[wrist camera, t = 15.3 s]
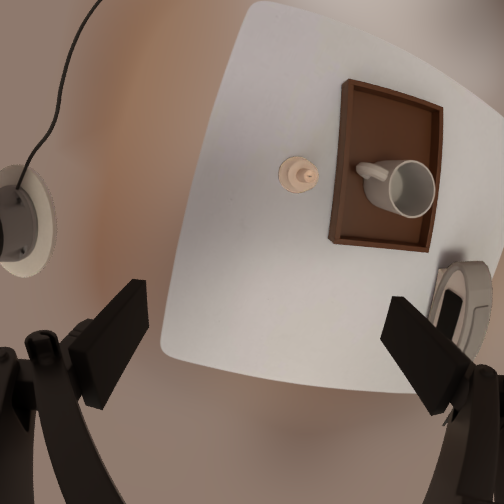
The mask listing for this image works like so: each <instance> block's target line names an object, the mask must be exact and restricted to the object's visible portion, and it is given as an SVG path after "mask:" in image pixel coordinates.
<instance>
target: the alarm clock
mask: <svg viewBox="0 0 504 504" xmlns="http://www.w3.org/2000/svg"><path fill="white" fill-rule="evenodd" d="M491 308H492V280H491V274H490V272H489V269H488V266H487V265H486V264H485V263H484V262H483V261H465V262H454V263H453V264H451V265H450V266H449V267H448V268H446V269H439V271H438V276H437V281H436V286H435V291H434V296H433V301H432V305H431V309H430V313H429V317H428V320H429V321H430V322H431V323H432V324H433V325H434V326H435V327H436V328H437V329H438V330H439V331H440V332H441V333H442V334H443V335H444V336H445V337H446V338H448V339H450V340H451V341H453V342H454V343H455V344H456V345H457V346H458V348H460V349H461V350H462V352H464V353H465V354H466V355H467V356H468V357H469V358H470V360H471V361H472V362H473V360H474V359H475V357H476V355H477V354H478V352H479V350H480V347H481V345H482V343H483V340H484V337H485V334H486V331H487V328H488V324H489V320H490V314H491Z"/></svg>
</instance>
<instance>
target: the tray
mask: <svg viewBox="0 0 504 504" xmlns="http://www.w3.org/2000/svg"><path fill="white" fill-rule="evenodd" d="M442 145H443V107H441V106H438V105H436V104H433V103H431V102H428V101H425V100H422V99H419V98H416V97H413V96H410V95H407V94H404V93H401V92H398V91H394V90H391V89H388V88H384V87H380V86H377V85H373V84H369V83H365V82H361V81H357V80H352V79H348V80H346V81H345V82H344V83H343V84H342V92H341V113H340V129H339V143H338V155H337V166H336V176H335V186H334V195H333V204H332V212H331V220H330V228H329V235H328V239H329V240H330V241H332V242H333V243H334V244H342V245H353V246H364V247H375V248H385V249H396V250H406V251H416V252H426V253H428V252H429V248H430V243H431V238H432V232H433V226H434V220H435V214H436V207H437V200H438V192H439V183H440V173H441V161H442ZM386 160H414V161H418V162H420V163H422V164H424V165H425V166H426V167H427V168H428V169H429V171H430V172H431V174H432V176H433V179H434V182H435V197H434V201H433V203H432V205H431V207H430V209H429V210H428V211H427V212H426V213H425V214H423V215H422V216H420V217H417V218H407V217H405V216H402V215H399V214H396V213H393V212H390V211H387V210H384V209H382V208H379V207H376V206H375V205H373V204H372V203H371V202H370V201H369V200H368V198H367V196H366V194H365V191H364V187H363V185H364V178H363V177H362V176H360V175H359V174H358V173H357V171H356V166H357V165H358V164H359V163H361V162H366V163H373V164H374V163H376V162H380V161H386Z"/></svg>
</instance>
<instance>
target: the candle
mask: <svg viewBox="0 0 504 504" xmlns="http://www.w3.org/2000/svg"><path fill="white" fill-rule="evenodd" d="M318 176H319V174H318V170H317V168H316V167H315V165H314V164H312V163H311V162H309V161H308V160H306V159H305V158H302V157H291V158H289V159H287V160H285V161H284V162H283V163H282V165H281V166H280V169H279V181H280V183H281V185H282V186H283V187H284V188H285V189H286V190H288V191H290V192H293V193H302V192H305V191H307V190H310V189H312V188H313V187H314V186H315V185H316V184H317V181H318Z"/></svg>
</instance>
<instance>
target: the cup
mask: <svg viewBox="0 0 504 504" xmlns="http://www.w3.org/2000/svg"><path fill="white" fill-rule="evenodd" d="M356 171H357V173H358V174H359V175H360V176H362V177H363V178H364V185H363V187H364V191H365V194H366V196H367V198H368V200H369V201H370V202H371V203H372V204H373V205H375V206H376V207H379V208H382V209H384V210H387V211H390V212H393V213H396V214H399V215H402V216H405V217H407V218H417V217H420V216H422V215H423V214H425V213H426V212H427V211H428V210H429V209H430V207H431V205H432V203H433V201H434V197H435V182H434V179H433V176H432V174H431V172H430V171H429V169H428V168H427V167H426V166H425V165H424V164H422V163H420V162H418V161H414V160H386V161H380V162H376V163H374V164H373V163H366V162H361V163H359V164H358V165H357V166H356Z"/></svg>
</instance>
